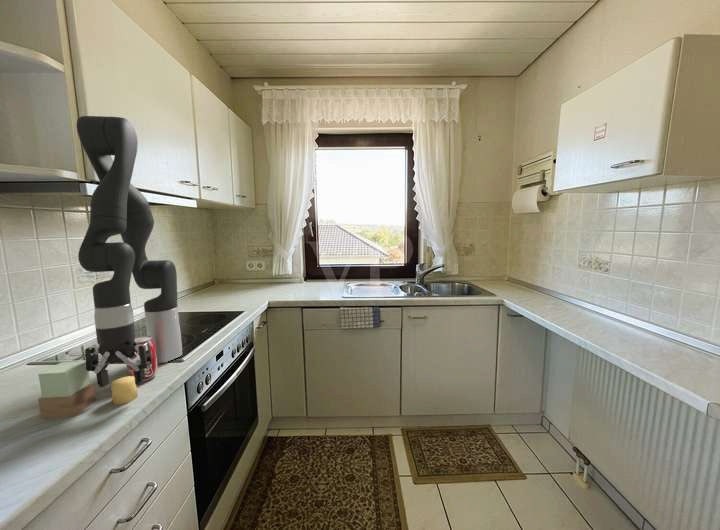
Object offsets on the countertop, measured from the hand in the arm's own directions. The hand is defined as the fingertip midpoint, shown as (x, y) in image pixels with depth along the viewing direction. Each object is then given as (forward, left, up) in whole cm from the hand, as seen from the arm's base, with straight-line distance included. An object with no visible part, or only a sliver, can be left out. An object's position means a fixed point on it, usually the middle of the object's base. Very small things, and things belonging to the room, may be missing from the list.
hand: (122, 384), depth 77 cm
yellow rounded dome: (-1, 0, -4) cm, 4 cm away
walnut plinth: (+2, -11, -4) cm, 12 cm away
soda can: (-12, -2, -5) cm, 13 cm away
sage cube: (+3, -11, +1) cm, 11 cm away
